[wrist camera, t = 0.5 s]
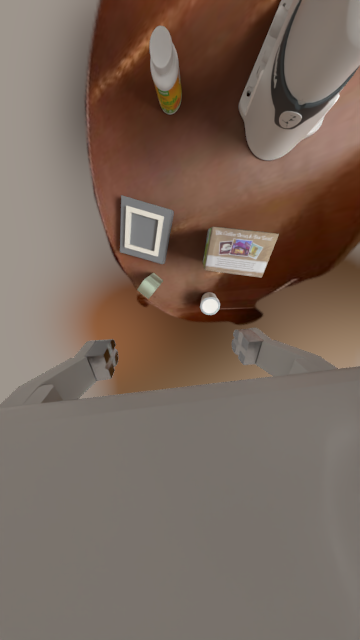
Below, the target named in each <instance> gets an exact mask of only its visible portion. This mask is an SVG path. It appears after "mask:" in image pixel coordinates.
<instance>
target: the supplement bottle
mask: <svg viewBox="0 0 360 640" xmlns="http://www.w3.org/2000/svg"><path fill="white" fill-rule="evenodd" d="M150 56H151V60H150V67H151V74H152V78H153V82H154V85H155V89H156V92H157V96H158V99H159V103H160V106H161V108H162V110H163V111H164V112H165V113H166V114H170V115H171V114H174V113H175V112H176V111H177V110H178V108H179V107H180V104H181V99H182V89H181V80H180V71H179V62H178V55H177V52H176V49H175V46H174V45H173V43H172V40H171V36H170V33H169V31H168V30H167V29H166V28H165V27H164V26H158V27H156V28H155V29H154V31H153V33H152V35H151V38H150Z"/></svg>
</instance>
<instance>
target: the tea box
mask: <svg viewBox="0 0 360 640" xmlns="http://www.w3.org/2000/svg"><path fill="white" fill-rule="evenodd" d="M278 235H279V234H275V233H267V232H259V231H250V230H241V229H232V228H222V227H212V228H210V229H208V233H207V239H206V246H205V252H204V258H203V265H204V269H205V270H207V271H214V272H222V273H230V274H238V275H246V276H253V277H262V276H263V273H264V270H265V268H266V265H267V263H268V260H269V258H270V255H271V253H272V250H273V248H274V245H275V243H276V240H277V238H278Z"/></svg>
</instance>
